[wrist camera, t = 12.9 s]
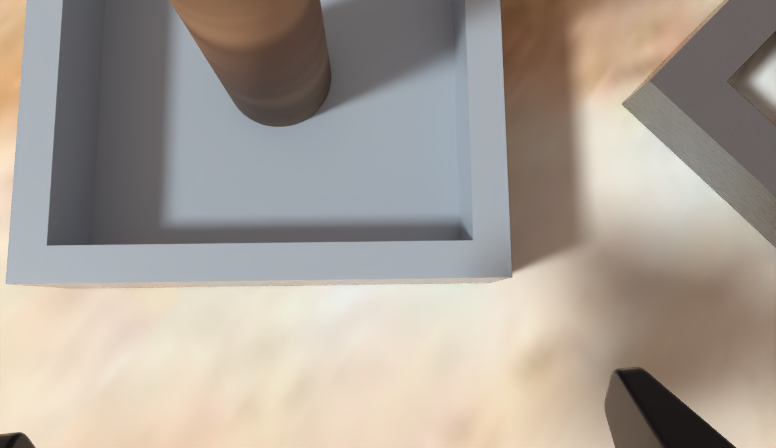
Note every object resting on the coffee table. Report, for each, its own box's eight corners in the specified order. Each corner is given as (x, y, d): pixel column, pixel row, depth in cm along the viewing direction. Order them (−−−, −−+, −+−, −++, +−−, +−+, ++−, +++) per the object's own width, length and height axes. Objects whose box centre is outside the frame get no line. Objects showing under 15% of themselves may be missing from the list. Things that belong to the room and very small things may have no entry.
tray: (489, 282, 23) (512, 277, 19) (70, 288, 23) (5, 284, 19) (475, -98, 25) (492, -173, 21) (92, -97, 25) (39, -173, 21)
